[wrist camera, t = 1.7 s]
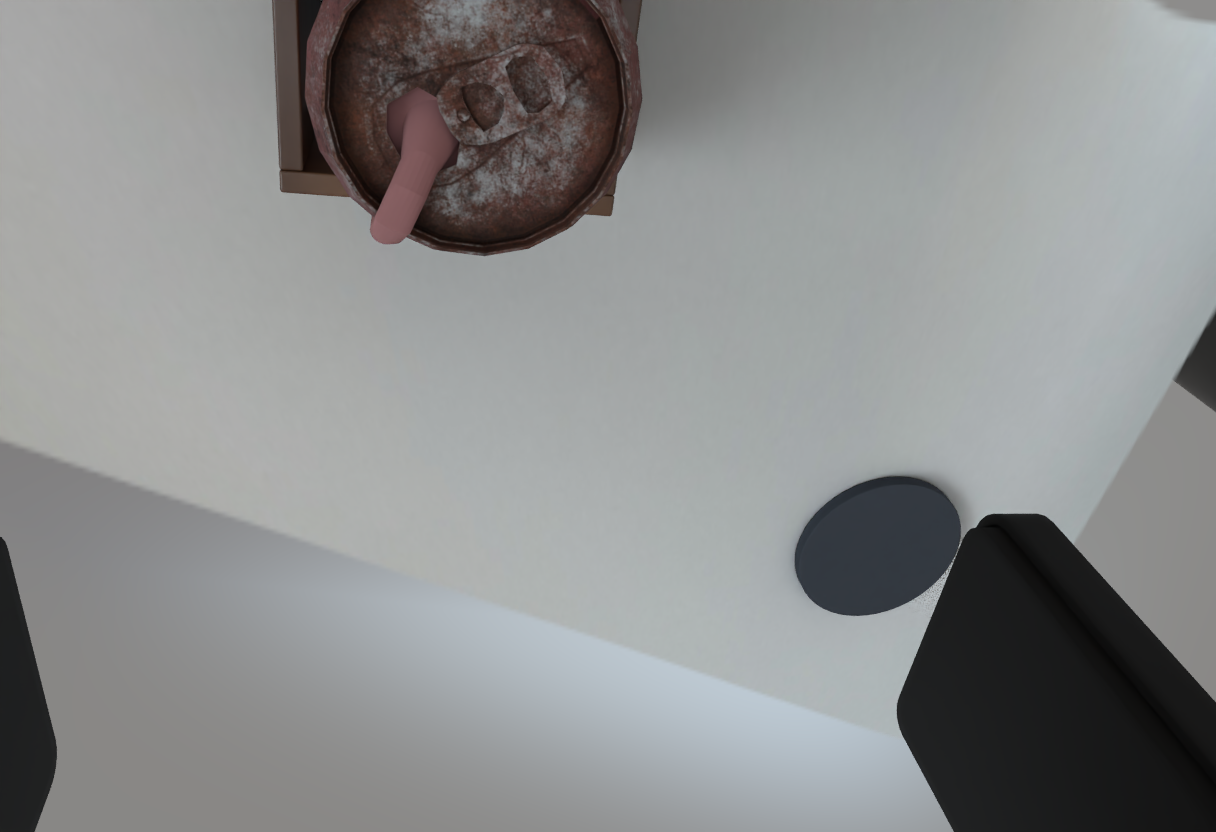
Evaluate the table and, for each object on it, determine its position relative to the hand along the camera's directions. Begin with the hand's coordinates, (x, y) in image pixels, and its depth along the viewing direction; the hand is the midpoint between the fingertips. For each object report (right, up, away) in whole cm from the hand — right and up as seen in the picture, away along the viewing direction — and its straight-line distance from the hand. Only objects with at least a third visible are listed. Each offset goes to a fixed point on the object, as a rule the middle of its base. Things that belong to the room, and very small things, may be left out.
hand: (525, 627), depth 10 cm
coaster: (+13, -4, +34) cm, 36 cm away
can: (-4, +15, +19) cm, 24 cm away
